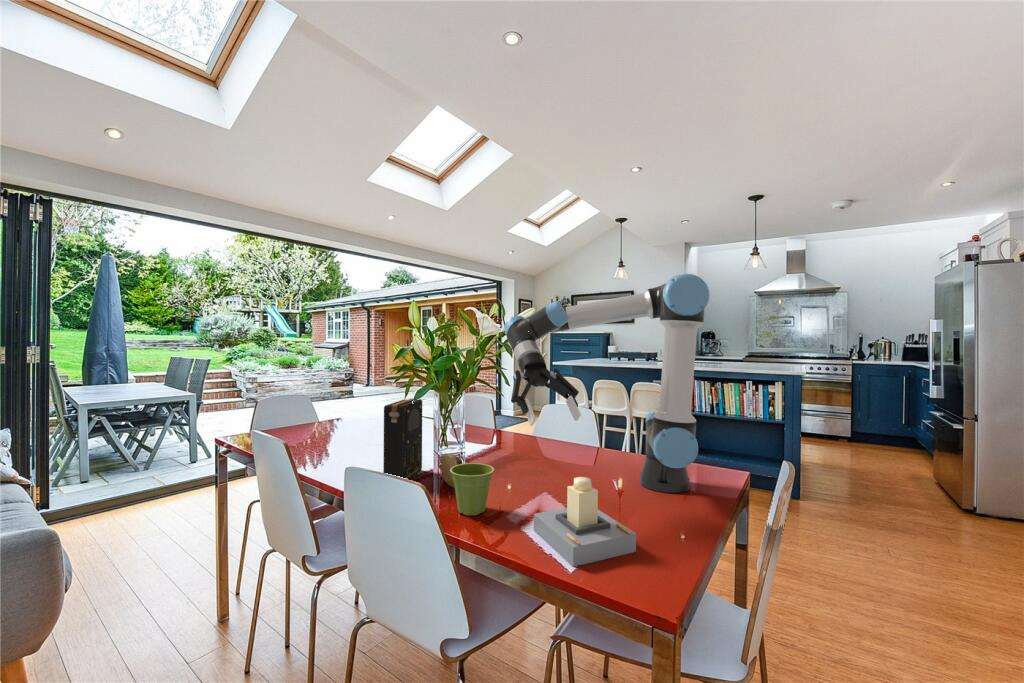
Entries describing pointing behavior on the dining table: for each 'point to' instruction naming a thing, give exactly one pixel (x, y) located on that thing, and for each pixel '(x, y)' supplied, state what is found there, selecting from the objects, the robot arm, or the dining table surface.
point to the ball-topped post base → (584, 537)
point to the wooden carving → (449, 467)
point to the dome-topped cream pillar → (582, 503)
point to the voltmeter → (403, 438)
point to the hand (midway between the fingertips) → (556, 420)
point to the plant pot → (471, 486)
